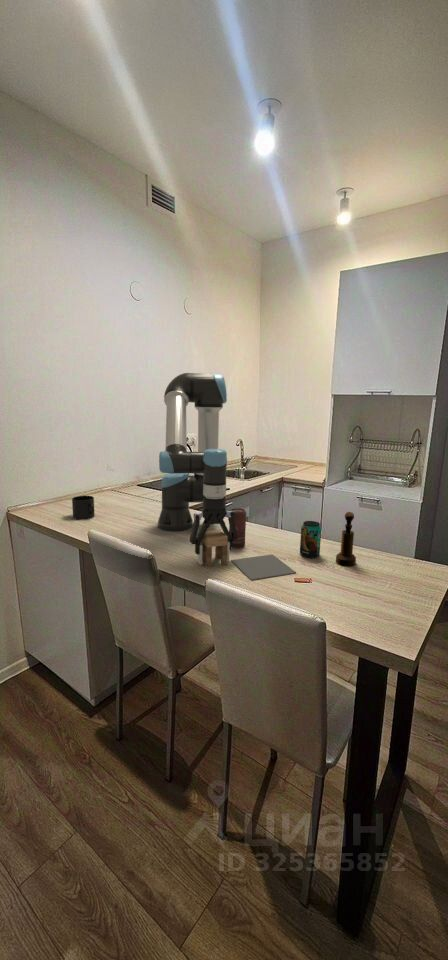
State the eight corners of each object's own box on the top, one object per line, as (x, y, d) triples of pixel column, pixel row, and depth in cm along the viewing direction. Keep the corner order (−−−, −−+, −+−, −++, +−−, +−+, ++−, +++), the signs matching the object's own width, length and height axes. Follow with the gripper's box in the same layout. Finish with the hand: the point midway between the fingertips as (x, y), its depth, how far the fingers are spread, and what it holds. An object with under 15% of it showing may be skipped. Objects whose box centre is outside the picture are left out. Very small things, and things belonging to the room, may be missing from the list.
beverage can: (295, 554, 142) (297, 523, 140) (306, 550, 147) (308, 519, 145) (313, 560, 137) (315, 527, 135) (323, 555, 142) (325, 523, 140)
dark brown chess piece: (341, 557, 141) (345, 508, 137) (359, 562, 136) (363, 512, 133) (332, 562, 136) (336, 512, 133) (349, 568, 131) (354, 516, 128)
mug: (85, 522, 175) (84, 502, 173) (68, 517, 182) (67, 498, 180) (102, 517, 183) (101, 498, 181) (86, 513, 189) (85, 494, 188)
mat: (230, 561, 135) (230, 559, 135) (272, 555, 141) (272, 554, 141) (250, 580, 121) (251, 579, 121) (296, 573, 127) (296, 572, 126)
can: (244, 549, 147) (245, 512, 144) (227, 547, 148) (228, 511, 145) (246, 543, 152) (247, 508, 150) (230, 542, 154) (231, 507, 151)
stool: (200, 559, 136) (200, 531, 134) (219, 557, 138) (219, 529, 137) (207, 567, 130) (207, 538, 128) (226, 564, 132) (227, 536, 130)
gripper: (185, 501, 122) (185, 569, 127) (249, 496, 130) (247, 560, 134) (179, 496, 129) (179, 560, 133) (240, 491, 137) (238, 553, 141)
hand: (213, 560), depth 134 cm, fingers open, 9 cm apart
